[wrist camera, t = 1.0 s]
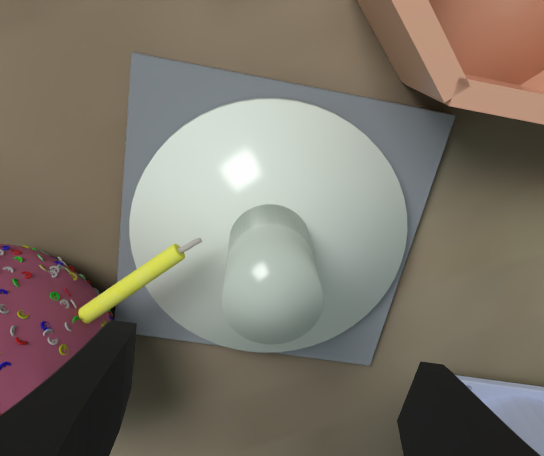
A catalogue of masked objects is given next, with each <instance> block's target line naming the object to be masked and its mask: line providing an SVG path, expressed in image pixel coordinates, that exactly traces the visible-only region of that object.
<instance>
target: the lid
mask: <svg viewBox="0 0 544 456" xmlns="http://www.w3.org/2000/svg"><path fill="white" fill-rule="evenodd" d="M129 237H130V243H131V250H132V255H133V258H134V262H135V265H136V268H137V269H138V268H139V267H141V266H142V265H144V264H145V263H146V262H148V261H149V260H151V259H152V258H154V257H155V256H157V255H158V254H160V253H161V252H162V251H164V250H165V249H167V248H168V247H170V246H171V245H173V244H177V245H179V246H180V247H182V246H184V245H186V244H188V243H189V242H191V241H192V240H194V239H197V238H201V240H202V242H201V243H199V244H197V245H195V246H194V247H192V248H191V249H189V250H187V251H185V252H184V254H185V259H183V260H182V261H181V262H179V263H178V264H176V265H175V266H173V267H172V268H170V269H169V270H167V271H166V272H164V273H163V274H161V275H160V276H158V277H157V278H156V279H154V280H153V281H151V282H150V283H148V284H147V285H145V287H146V288H147V290H148V291H149V293H150V295H151V296H152V297H153V299H154V300H155V301H156V302H157V304H158V305H159V306H160V307H161V308H162V309H163V310H164V311H165V312H166V313H167V314H168V315H169V316H170V317H171V318H172V319H173V320H174V321H176V322H177V323H179V324H180V325H181V326H183V327H184V328H185V329H187V330H188V331H190V332H192V333H194V334H196V335H197V336H199V337H201V338H203V339H206V340H208V341H210V342H213V343H215V344H218V345H221V346H225V347H228V348H231V349H237V350H242V351H248V352H261V353H269V352H285V351H292V350H298V349H302V348H306V347H310V346H313V345H316V344H319V343H321V342H324V341H327V340H329V339H331V338H333V337H335V336H337V335H339V334H341V333H342V332H344V331H346V330H347V329H349V328H350V327H352V326H354V325H355V324H356V323H357V322H359V321H360V320H361V319H362V318H364V317H365V316H366V315H367V314H368V313H369V312H370V311H371V310H372V309H373V308H374V307H375V306H376V305H377V304H378V303H379V301H380V300H381V299H382V297H383V296H384V295H385V293H386V292H387V291H388V289H389V287H390V285H391V284H392V282H393V280H394V279H395V277H396V274H397V272H398V269H399V267H400V265H401V262H402V258H403V255H404V251H405V247H406V239H407V211H406V205H405V199H404V195H403V192H402V189H401V186H400V183H399V181H398V179H397V177H396V175H395V173H394V171H393V169H392V167H391V165H390V163H389V162H388V161H387V159H386V158H385V156H384V155H383V154H382V152H381V151H380V150H379V148H378V147H377V146H376V145H375V144H374V143H373V142H372V141H371V140H370V139H369V138H368V137H367V136H366V135H365V134H364V132H362V131H361V130H360V129H358V128H357V127H356V126H355V125H353V124H352V123H351V122H350V121H348V120H346V119H345V118H343V117H341V116H340V115H338V114H336V113H335V112H333V111H330V110H328V109H325V108H323V107H321V106H318V105H316V104H312V103H308V102H305V101H301V100H297V99H289V98H281V97H256V98H249V99H243V100H237V101H234V102H230V103H227V104H223V105H220V106H217V107H215V108H213V109H211V110H208V111H206V112H204V113H202V114H200V115H198V116H197V117H195V118H193V119H192V120H190V121H189V122H187V123H185V124H184V125H183V126H182V127H181V128H179V129H178V130H177V131H176V132H175V133H173V134H172V135H171V136H170V137H169V138H168V139H167V141H166V142H165V143H164V144H163V145H162V146H161V147H160V148H159V150H158V151H157V152H156V154H155V155H154V157H153V158H152V160H151V161H150V163H149V164H148V166H147V167H146V169H145V170H144V172H143V174H142V176H141V179H140V181H139V183H138V185H137V188H136V191H135V194H134V197H133V201H132V206H131V212H130V219H129Z"/></svg>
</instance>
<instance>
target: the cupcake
mask: <svg viewBox="0 0 544 456" xmlns="http://www.w3.org/2000/svg"><path fill="white" fill-rule="evenodd" d="M201 242H202V240H201V238H197V239H194V240H192V241H191V242H189V243H188V244H186V245H184V246H182V247H180V246H179V245H177V244H173V245H171V246H170V247H168V248H167V249H165V250H164V251H162V252H161V253H160V254H158V255H157V256H155V257H154V258H152V259H151V260H149V261H148V262H146V263H145V264H144V265H142V266H141V267H139V268H138V269H136V270H135V271H133V272H132V273H130V274H129V275H127V276H126V277H125V278H123V279H122V280H120V281H119V282H117V283H116V284H114V285H113V286H111V287H110V288H109V289H107V290H106V291H104V292H103V293H101V294H100V295H99V291H98V290H97V289H96V288H92V286H91V285H90V284H92V282H90V281H87V280H86V279H85V277H84V275H83V274H78V273H77V272H76V271H75V269H74V268H73V267H72V266H70V265H69V267H68V266H67V265H66V264H65V262H64V261H62V259H61V258H60V257H57V259H55V258H54V257H52V256H49V254H48V253H46V252H45V251H42V252H39V251H38V250H36V249H34V248H32V249H30V248H29V247H28V246H22V247H20V246H14V245H4V244H0V415H1V414H3V413H4V412H5V411H7V410H8V409H9V408H11V407H12V406H13V405H15V404H16V403H17V402H19V401H20V400H21V399H23V398H24V397H25V396H26V395H28V394H29V393H30V392H31V391H33V390H34V389H35V388H36V387H38V386H39V385H40V384H41V383H43V382H44V381H45V380H46V379H47V378H49V377H50V376H51V375H52V374H53V373H54V372H56V371H57V370H58V369H59V368H60V367H61V366H62V365H63V364H65V363H66V362H67V361H68V360H69V359H70V358H71V357H72V356H73V355H75V354H76V353H77V352H78V351H79V350H80V349H81V348H82V347H83V346H84V345H85V344H86V343H87V342H88V341H89V340H90V339H91V338H92V337H93V336H94V335H95V334H96V333H97V332H98V331H99V330H100V329H101V328H102V327H103V326H104V325H105V324H106V323H107V322H109V321H110V320H113V313H112V311H111V310H110V309H111V308H113V307H114V306H116V305H117V304H119V303H120V302H122V301H123V300H124V299H126V298H127V297H129V296H130V295H132V294H133V293H135V292H136V291H138V290H139V289H141V288H142V287H144V286H145V285H147V284H148V283H150V282H151V281H153V280H154V279H156V278H157V277H158V276H160V275H161V274H163V273H164V272H166V271H167V270H169V269H170V268H172V267H173V266H175V265H176V264H178V263H179V262H181V261H182V260H183V259H185V254H184V252H185V251H187V250H189V249H191V248H192V247H194V246H195V245H197V244H199V243H201ZM59 259H60V260H59ZM89 283H90V284H89ZM95 290H96V291H95Z"/></svg>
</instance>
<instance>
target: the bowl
mask: <svg viewBox="0 0 544 456" xmlns="http://www.w3.org/2000/svg"><path fill="white" fill-rule="evenodd" d="M357 2H358V4H359V6H360V8H361V10H362V11H363V13H364V15H365V17H366V19H367V21H368V22H369V24H370V26H371V28H372V30H373V32H374V33H375V35H376V37H377V39H378V41H379V42H380V44H381V46H382V48H383V50H384V52H385V53H386V55H387V57H388V59H389V61H390V63H391V64H392V66H393V68H394V70H395V72H396V74H397V75H398V77H399V79H400V81H401V82H402V83H404V84H405V85H406V86H409V87H411V88H413V89H415V90H417V91H419V92H421V93H423V94H425V95H427V96H429V97H431V98H433V99H435V100H438V101H440V102H442V103H444V104H446V105H448V106H451V107H456V108H461V109H466V110H472V111H477V112H482V113H487V114H492V115H497V116H502V117H508V118H513V119H518V120H523V121H528V122H533V123H538V124H544V0H357Z"/></svg>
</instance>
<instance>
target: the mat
mask: <svg viewBox="0 0 544 456" xmlns="http://www.w3.org/2000/svg"><path fill="white" fill-rule="evenodd" d="M256 97H281V98H289V99H297V100H301V101H305V102H308V103H312V104H316V105H318V106H321V107H323V108H325V109H328V110H330V111H333V112H335V113H336V114H338V115H340V116H341V117H343V118H345V119H346V120H348V121H350V122H351V123H352V124H353V125H355V126H356V127H357V128H358V129H360V130H361V131H362V132H364V134H365V135H366V136H367V137H368V138H369V139H370V140H371V141H372V142H373V143H374V144H375V145H376V146H377V147H378V148H379V150H380V151H381V152H382V154H383V155H384V156H385V158H386V159H387V161H388V162H389V163H390V165H391V167H392V169H393V171H394V173H395V175H396V177H397V179H398V181H399V183H400V186H401V189H402V192H403V195H404V199H405V205H406V211H407V239H406V247H405V251H404V255H403V258H402V262H401V265H400V267H399V269H398V272H397V274H396V277H395V279H394V280H393V282H392V284H391V285H390V287H389V289H388V291H387V292H386V293H385V295H384V296H383V297H382V299H381V300H380V301H379V303H378V304H377V305H376V306H375V307H374V308H373V309H372V310H371V311H370V312H369V313H368V314H367V315H366V316H365V317H364V318H362V319H361V320H360V321H359V322H357V323H356V324H355V325H354V326H352V327H350V328H349V329H347V330H346V331H344V332H342V333H341V334H339V335H337V336H335V337H333V338H331V339H329V340H327V341H324V342H321V343H319V344H316V345H313V346H310V347H306V348H302V349H298V350H292V351H285V352H271V353H279V354H286V355H294V356H301V357H308V358H316V359H323V360H331V361H338V362H346V363H353V364H361V365H368V366H370V364H371V361H372V358H373V355H374V352H375V349H376V346H377V343H378V340H379V337H380V334H381V332H382V329H383V326H384V323H385V320H386V317H387V314H388V311H389V308H390V305H391V302H392V299H393V297H394V294H395V291H396V288H397V285H398V282H399V279H400V276H401V273H402V270H403V267H404V265H405V262H406V259H407V256H408V253H409V250H410V247H411V244H412V241H413V238H414V235H415V232H416V230H417V227H418V224H419V221H420V218H421V215H422V212H423V209H424V206H425V203H426V200H427V198H428V195H429V192H430V189H431V186H432V183H433V180H434V177H435V174H436V171H437V168H438V165H439V163H440V160H441V157H442V154H443V151H444V148H445V145H446V142H447V139H448V136H449V133H450V130H451V128H452V125H453V122H454V119H455V115H453V114H451V113H446V112H441V111H435V110H430V109H425V108H420V107H415V106H410V105H404V104H399V103H394V102H389V101H384V100H378V99H373V98H368V97H363V96H358V95H353V94H347V93H342V92H337V91H332V90H327V89H322V88H316V87H311V86H306V85H301V84H296V83H290V82H285V81H280V80H275V79H270V78H265V77H259V76H254V75H249V74H244V73H239V72H233V71H228V70H223V69H218V68H213V67H208V66H202V65H197V64H192V63H187V62H182V61H176V60H171V59H166V58H161V57H156V56H151V55H145V54H140V53H135V52H134V53H132V54H131V70H130V85H129V101H128V117H127V132H126V148H125V164H124V179H123V195H122V211H121V226H120V242H119V258H118V273H117V282H119V281H120V280H122V279H123V278H125V277H126V276H127V275H129V274H130V273H132V272H133V271H135V270H136V269H137V268H136V265H135V262H134V258H133V255H132V250H131V243H130V237H129V219H130V212H131V206H132V201H133V197H134V194H135V191H136V188H137V185H138V183H139V181H140V179H141V176H142V174H143V172H144V170H145V169H146V167H147V166H148V164H149V163H150V161H151V160H152V158H153V157H154V155H155V154H156V152H157V151H158V150H159V148H160V147H161V146H162V145H163V144H164V143H165V142H166V141H167V139H168V138H169V137H170V136H171V135H172V134H173V133H175V132H176V131H177V130H178V129H179V128H181V127H182V126H183V125H184V124H185V123H187V122H189V121H190V120H192V119H193V118H195V117H197V116H198V115H200V114H202V113H204V112H206V111H208V110H211V109H213V108H215V107H217V106H220V105H223V104H227V103H230V102H234V101H237V100H243V99H249V98H256ZM115 321H123V322H130V323H137V327H136V335H144V336H151V337H159V338H166V339H174V340H181V341H189V342H196V343H204V344H211V345H218V344H215V343H213V342H210V341H208V340H206V339H203V338H201V337H199V336H197V335H196V334H194V333H192V332H190V331H188V330H187V329H185V328H184V327H183V326H181V325H180V324H179V323H177V322H176V321H174V320H173V319H172V318H171V317H170V316H169V315H168V314H167V313H166V312H165V311H164V310H163V309H162V308H161V307H160V306H159V305H158V304H157V302H156V301H155V300H154V299H153V297H152V296H151V295H150V293H149V291H148V290H147V288H146V287H145V286H144V287H142V288H141V289H139V290H138V291H136V292H135V293H133V294H132V295H130V296H129V297H127V298H126V299H124V300H123V301H122V302H120V303H119V304H117V305H116V306H115ZM219 346H221V345H219Z"/></svg>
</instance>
